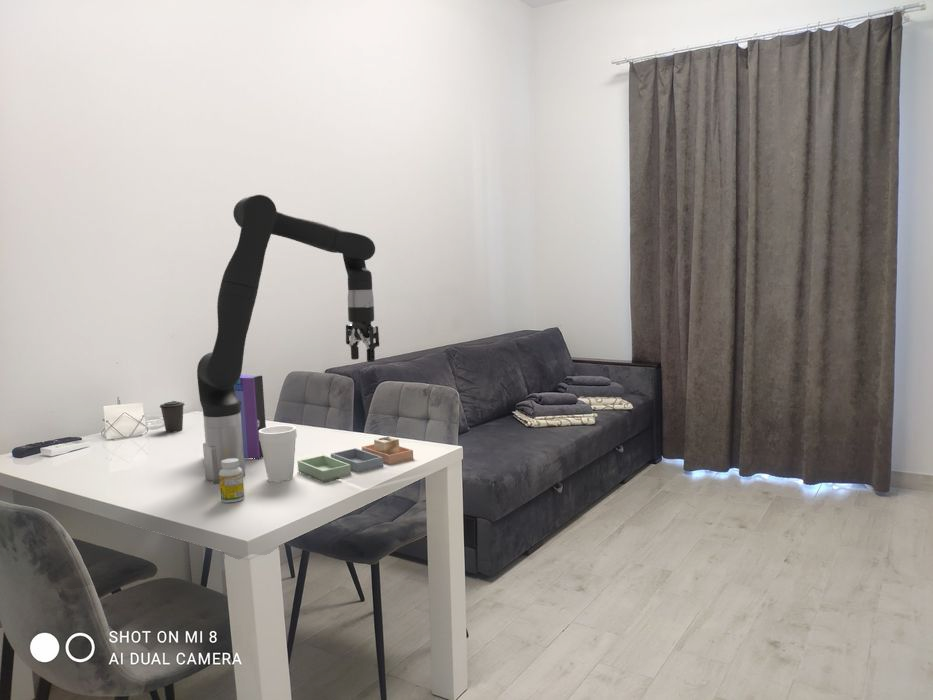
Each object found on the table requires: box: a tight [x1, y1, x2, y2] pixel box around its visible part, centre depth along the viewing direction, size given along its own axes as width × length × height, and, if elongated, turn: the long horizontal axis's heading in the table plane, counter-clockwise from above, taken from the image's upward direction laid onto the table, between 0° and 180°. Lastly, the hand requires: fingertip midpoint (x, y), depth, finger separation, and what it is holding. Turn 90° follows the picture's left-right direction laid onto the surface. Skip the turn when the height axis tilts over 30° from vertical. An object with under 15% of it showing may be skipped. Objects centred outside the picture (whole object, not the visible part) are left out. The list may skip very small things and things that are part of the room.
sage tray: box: [297, 454, 352, 483], centre depth 186 cm, size 8×14×3 cm, turn 40°
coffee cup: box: [159, 400, 186, 433], centre depth 244 cm, size 8×8×10 cm
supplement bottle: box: [219, 458, 245, 504], centre depth 166 cm, size 5×5×10 cm
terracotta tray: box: [361, 443, 414, 465], centre depth 198 cm, size 8×14×3 cm, turn 40°
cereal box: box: [234, 374, 267, 460], centre depth 206 cm, size 17×5×24 cm, turn 73°
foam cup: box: [258, 424, 298, 482], centre depth 182 cm, size 10×9×13 cm
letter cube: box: [373, 436, 400, 455], centre depth 198 cm, size 5×5×5 cm
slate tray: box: [330, 448, 384, 473], centre depth 192 cm, size 8×14×3 cm, turn 40°
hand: (362, 360), depth 207 cm, fingers open, 8 cm apart
